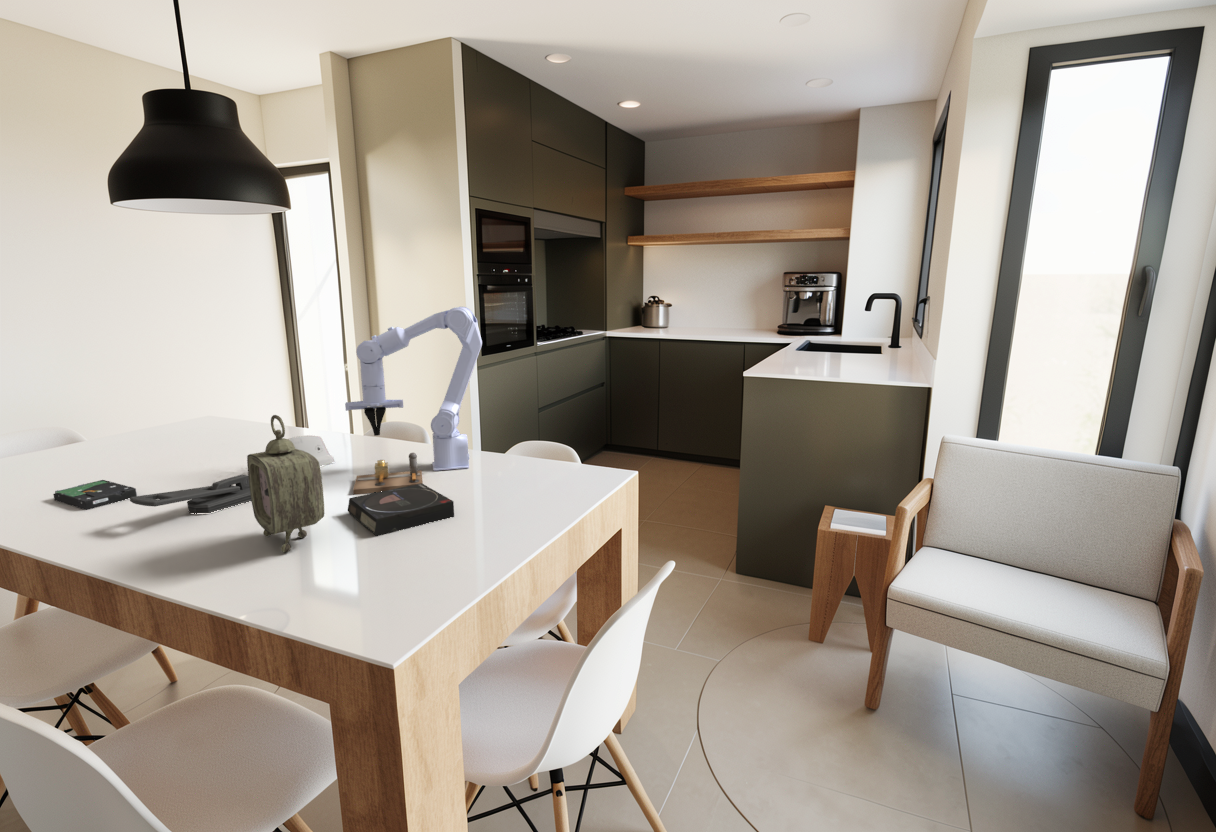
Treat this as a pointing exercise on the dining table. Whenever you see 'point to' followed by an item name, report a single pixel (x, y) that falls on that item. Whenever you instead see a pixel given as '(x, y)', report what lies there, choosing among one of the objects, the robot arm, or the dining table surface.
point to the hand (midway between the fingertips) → (377, 434)
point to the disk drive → (94, 494)
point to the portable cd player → (400, 508)
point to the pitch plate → (389, 479)
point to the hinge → (313, 448)
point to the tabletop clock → (285, 487)
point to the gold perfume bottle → (381, 470)
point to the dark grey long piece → (203, 496)
